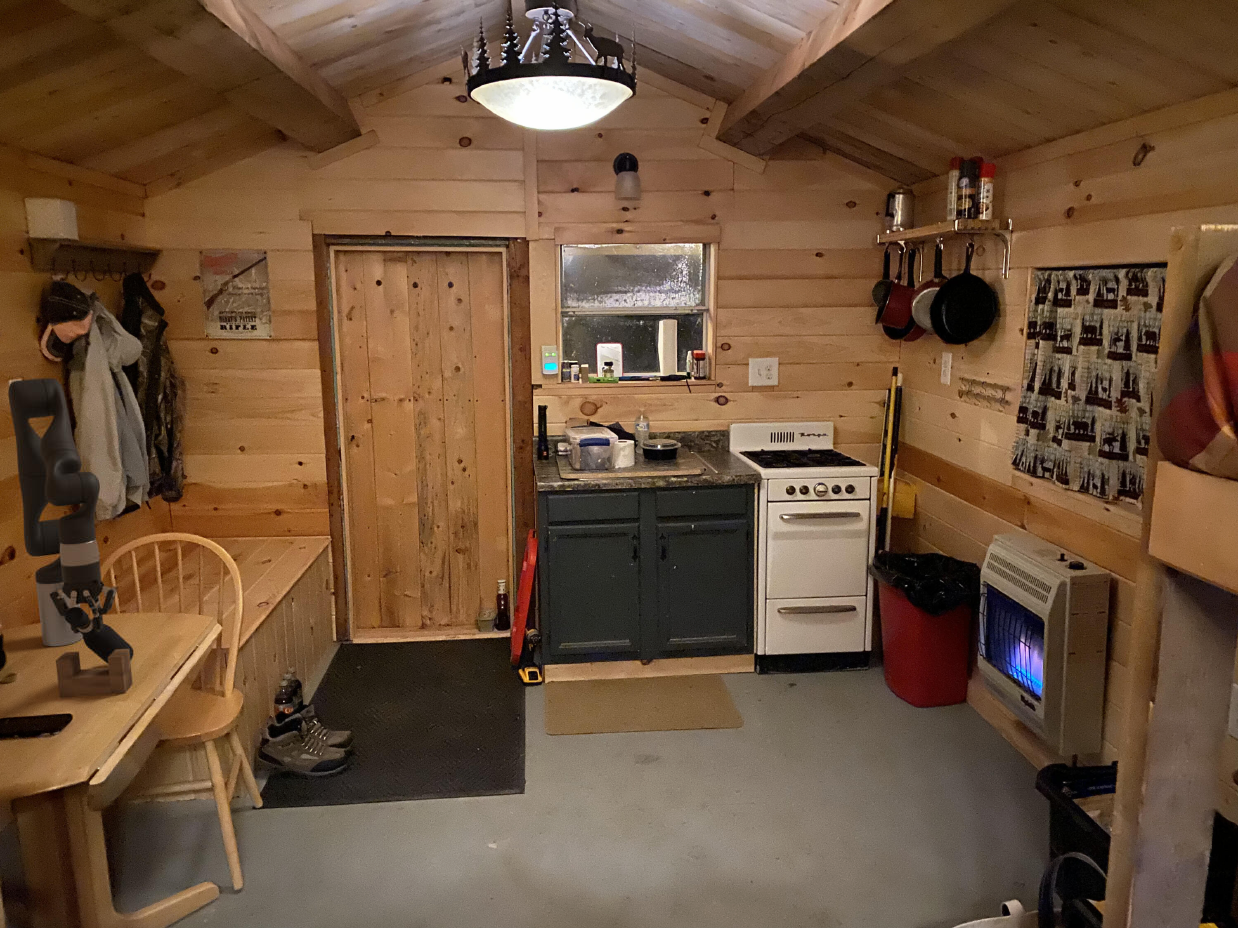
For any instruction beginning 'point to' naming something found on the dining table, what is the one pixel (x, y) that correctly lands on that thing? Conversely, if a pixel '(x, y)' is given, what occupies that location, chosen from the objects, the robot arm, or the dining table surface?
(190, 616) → the dining table surface
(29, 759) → the dining table surface
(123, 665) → the walnut U-rest
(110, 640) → the black bottle
